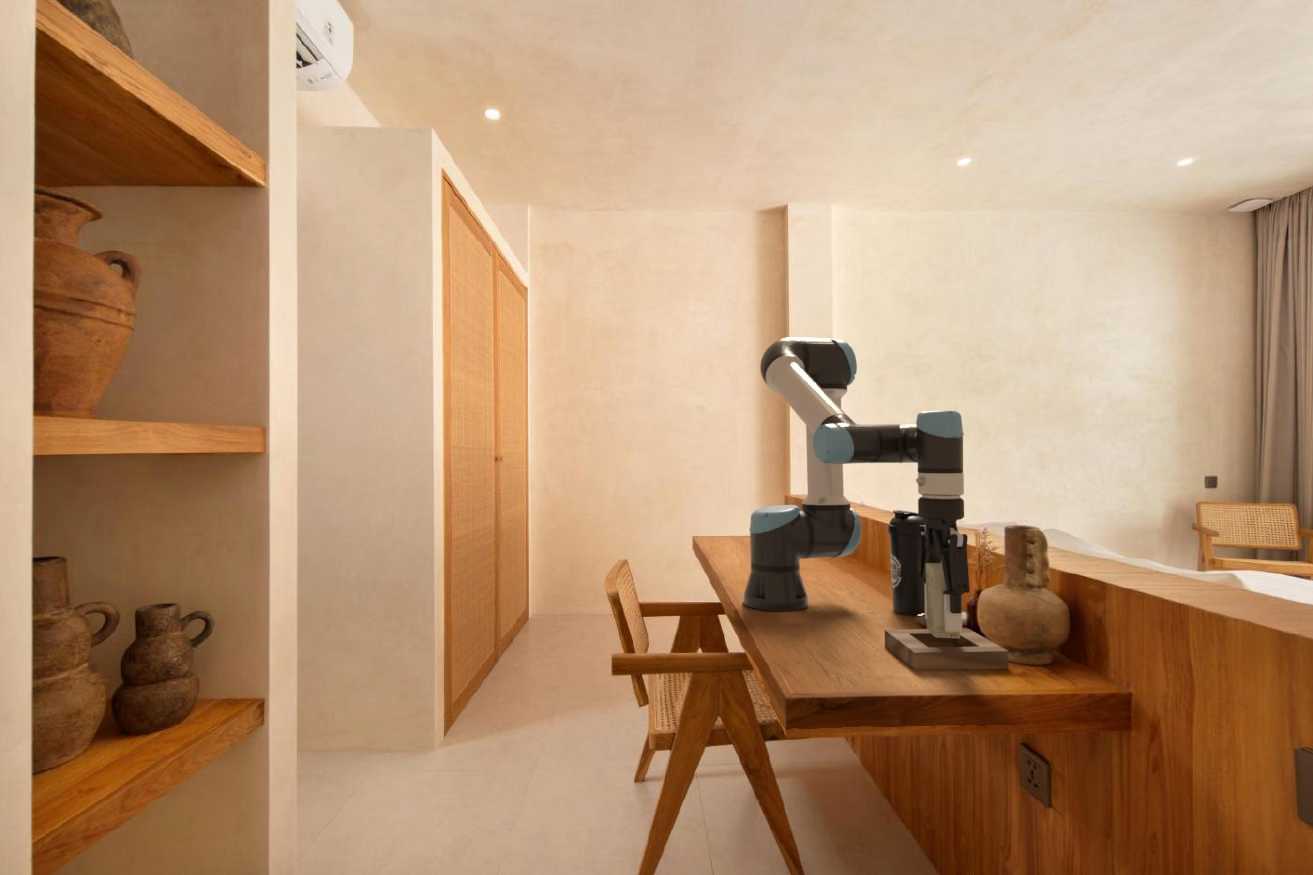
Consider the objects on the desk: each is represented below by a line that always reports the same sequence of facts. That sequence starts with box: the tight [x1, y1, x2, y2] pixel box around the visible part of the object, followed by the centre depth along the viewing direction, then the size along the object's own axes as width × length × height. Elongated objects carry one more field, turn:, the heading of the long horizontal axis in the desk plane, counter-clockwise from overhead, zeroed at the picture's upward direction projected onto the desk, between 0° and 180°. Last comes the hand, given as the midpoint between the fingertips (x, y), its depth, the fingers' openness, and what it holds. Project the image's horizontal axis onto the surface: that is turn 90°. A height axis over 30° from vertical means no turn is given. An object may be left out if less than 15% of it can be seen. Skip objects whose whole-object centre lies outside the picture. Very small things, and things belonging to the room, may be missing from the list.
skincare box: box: [926, 562, 960, 639], centre depth 111 cm, size 6×4×12 cm
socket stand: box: [884, 628, 1010, 671], centre depth 111 cm, size 13×16×3 cm
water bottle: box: [887, 509, 927, 617], centre depth 141 cm, size 10×10×23 cm
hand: (942, 624), depth 111 cm, fingers closed on skincare box, 7 cm apart
